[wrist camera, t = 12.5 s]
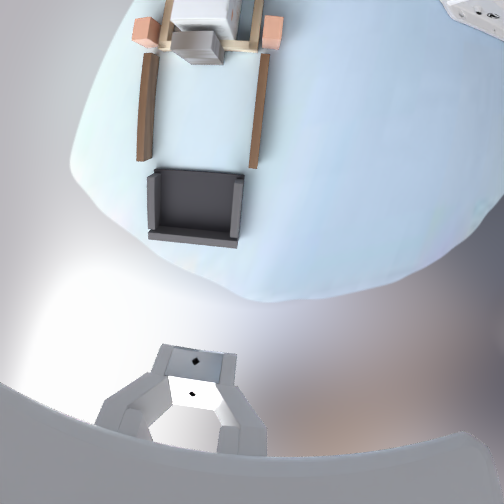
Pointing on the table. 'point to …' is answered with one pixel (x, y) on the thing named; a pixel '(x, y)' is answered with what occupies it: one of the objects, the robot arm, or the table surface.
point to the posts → (149, 30)
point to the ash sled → (206, 40)
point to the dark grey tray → (194, 207)
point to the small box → (208, 16)
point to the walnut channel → (148, 107)
